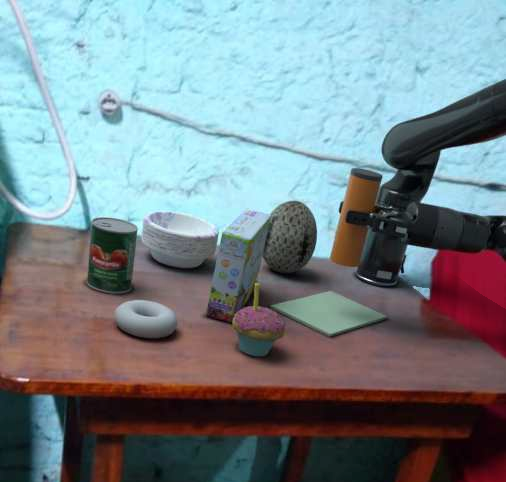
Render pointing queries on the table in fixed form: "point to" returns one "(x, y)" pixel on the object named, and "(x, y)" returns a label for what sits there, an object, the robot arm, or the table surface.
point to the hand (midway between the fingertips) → (343, 211)
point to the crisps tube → (359, 199)
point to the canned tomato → (111, 255)
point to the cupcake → (257, 327)
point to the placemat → (328, 313)
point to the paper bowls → (179, 238)
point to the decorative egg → (290, 237)
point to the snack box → (237, 264)
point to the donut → (145, 319)
